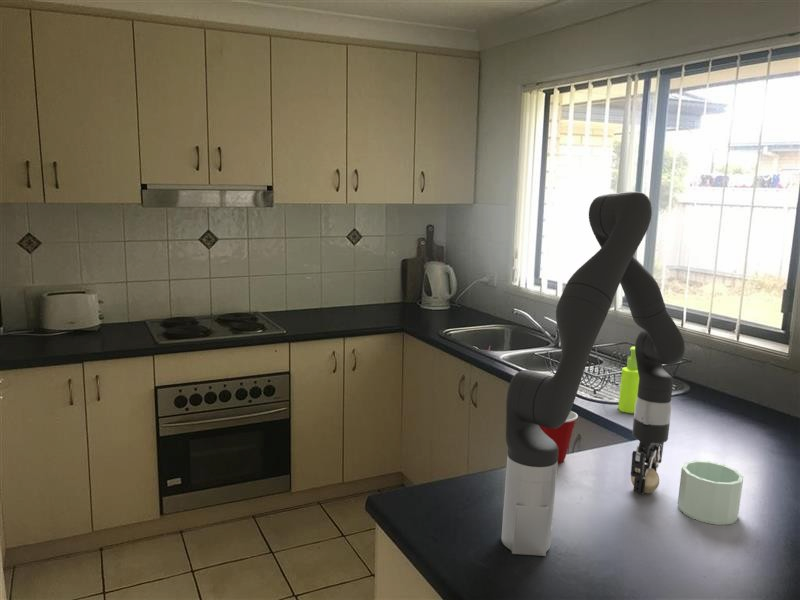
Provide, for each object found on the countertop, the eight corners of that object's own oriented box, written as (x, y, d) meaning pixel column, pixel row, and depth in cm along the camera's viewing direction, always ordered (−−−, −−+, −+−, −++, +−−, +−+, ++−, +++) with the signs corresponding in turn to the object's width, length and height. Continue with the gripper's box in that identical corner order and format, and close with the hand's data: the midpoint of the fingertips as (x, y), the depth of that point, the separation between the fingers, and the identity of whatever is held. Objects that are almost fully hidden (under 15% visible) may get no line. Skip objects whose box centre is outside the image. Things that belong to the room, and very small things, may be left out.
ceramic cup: (747, 526, 137) (753, 485, 136) (689, 523, 138) (694, 482, 136) (723, 500, 149) (728, 462, 147) (670, 497, 149) (674, 459, 148)
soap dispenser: (640, 408, 210) (647, 346, 207) (635, 414, 205) (642, 351, 201) (621, 404, 214) (627, 343, 210) (616, 410, 208) (622, 347, 204)
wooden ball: (661, 498, 149) (664, 473, 148) (634, 496, 149) (636, 471, 148) (653, 486, 154) (655, 462, 153) (626, 484, 155) (629, 460, 154)
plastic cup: (542, 446, 176) (546, 403, 174) (581, 458, 169) (585, 413, 167) (522, 458, 167) (525, 412, 165) (561, 471, 161) (566, 423, 159)
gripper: (646, 406, 156) (638, 473, 159) (623, 421, 145) (615, 493, 148) (679, 414, 152) (671, 483, 155) (658, 430, 141) (649, 504, 144)
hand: (644, 487), depth 151 cm, fingers open, 6 cm apart
